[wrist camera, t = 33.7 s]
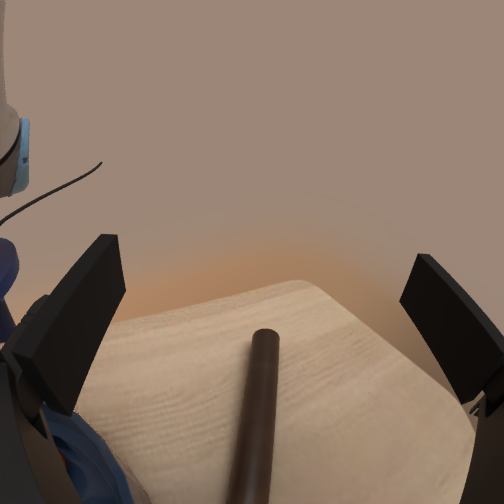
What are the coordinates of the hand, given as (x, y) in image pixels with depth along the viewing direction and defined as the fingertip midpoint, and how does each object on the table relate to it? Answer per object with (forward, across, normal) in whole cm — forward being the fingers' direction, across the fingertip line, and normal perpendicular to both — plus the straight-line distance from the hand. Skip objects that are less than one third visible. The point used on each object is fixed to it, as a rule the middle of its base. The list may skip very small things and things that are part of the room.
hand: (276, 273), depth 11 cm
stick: (+10, +2, -14) cm, 17 cm away
